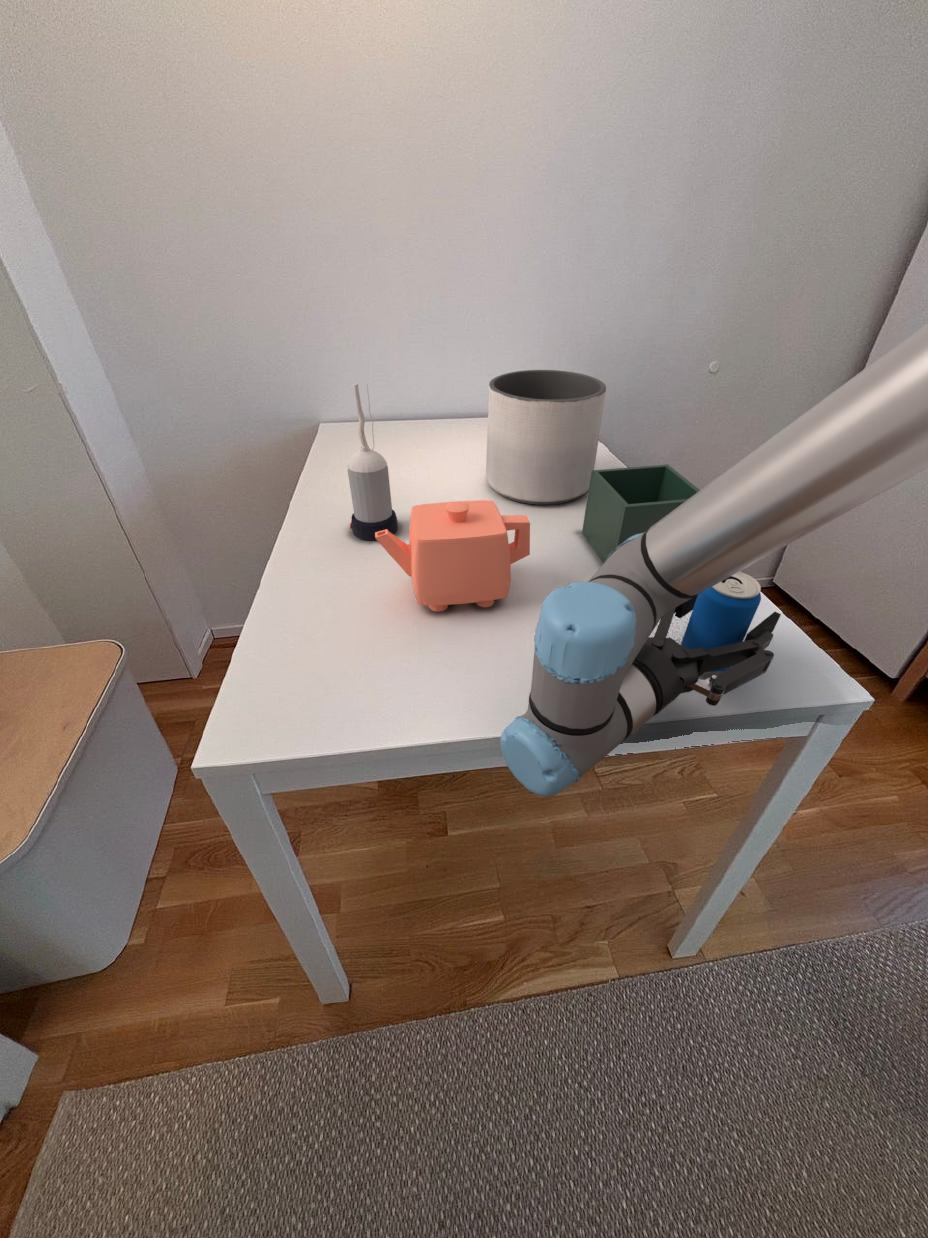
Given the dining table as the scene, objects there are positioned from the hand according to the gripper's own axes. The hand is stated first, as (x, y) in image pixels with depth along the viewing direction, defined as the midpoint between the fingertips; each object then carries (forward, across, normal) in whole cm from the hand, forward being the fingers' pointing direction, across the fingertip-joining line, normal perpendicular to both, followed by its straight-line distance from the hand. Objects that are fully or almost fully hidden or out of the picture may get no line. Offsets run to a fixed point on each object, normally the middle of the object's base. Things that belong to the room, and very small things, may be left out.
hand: (739, 605), depth 65 cm
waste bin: (+11, -23, -6) cm, 26 cm away
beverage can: (-5, 0, -7) cm, 8 cm away
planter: (+17, -52, -7) cm, 55 cm away
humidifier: (-20, -57, -7) cm, 60 cm away
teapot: (-20, -33, -7) cm, 39 cm away
